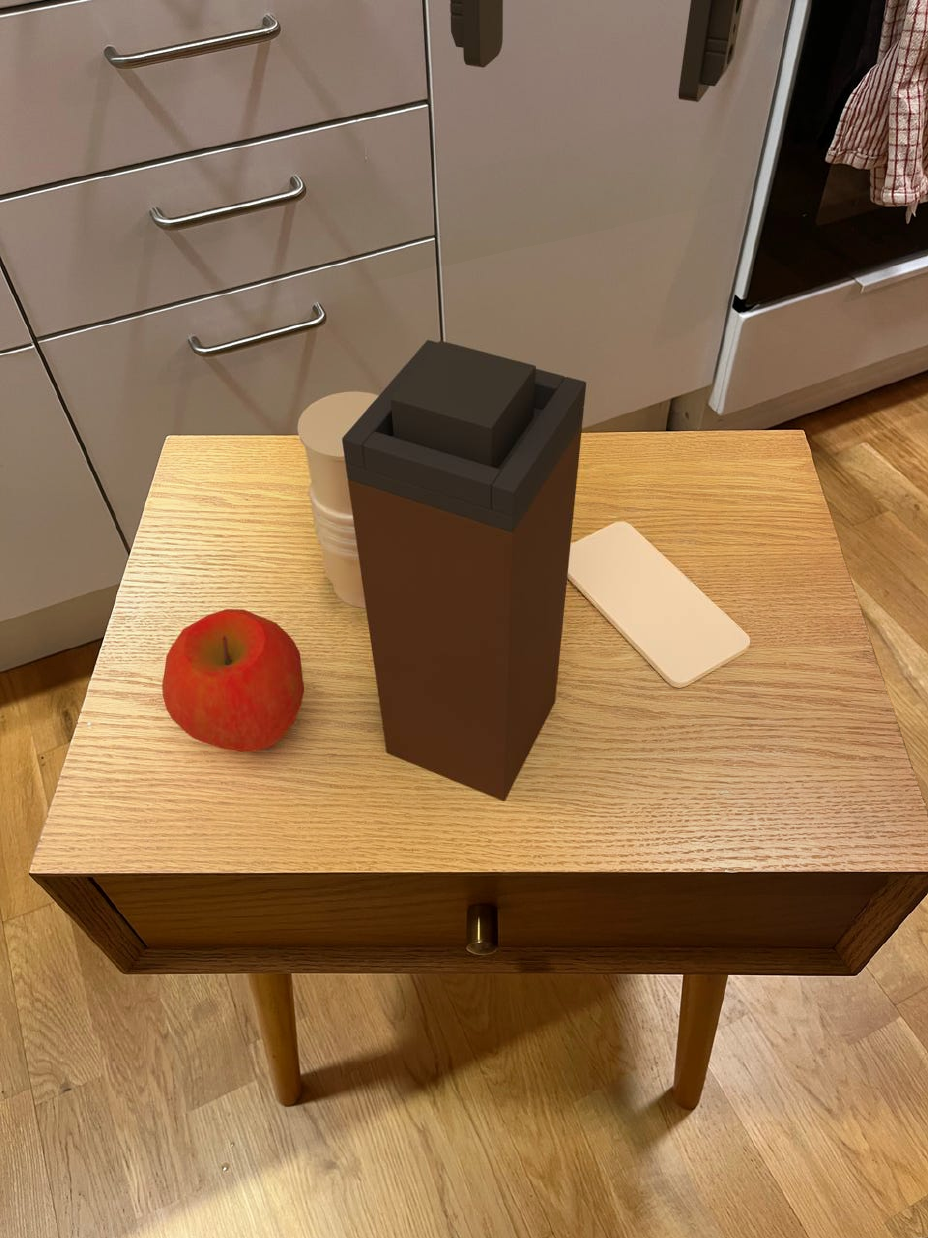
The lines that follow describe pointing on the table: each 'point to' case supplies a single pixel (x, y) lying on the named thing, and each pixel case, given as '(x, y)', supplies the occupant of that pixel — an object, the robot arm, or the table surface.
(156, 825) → the table surface
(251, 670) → the apple
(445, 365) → the dark brown square block
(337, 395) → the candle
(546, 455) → the brown square canister
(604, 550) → the smartphone
